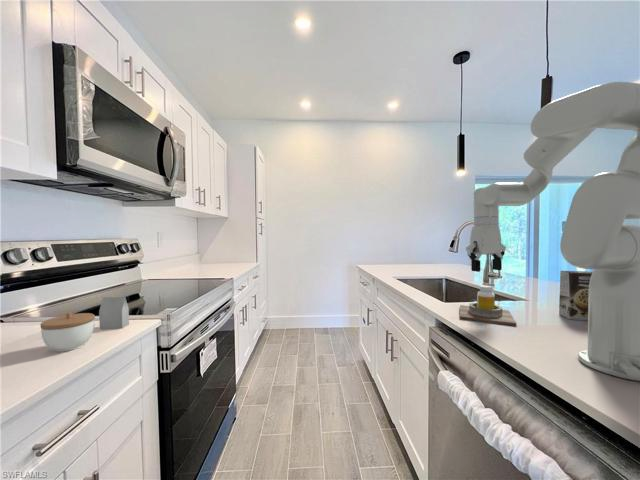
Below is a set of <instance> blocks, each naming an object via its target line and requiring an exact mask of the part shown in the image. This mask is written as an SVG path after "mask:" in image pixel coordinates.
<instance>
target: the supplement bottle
mask: <svg viewBox="0 0 640 480" xmlns="http://www.w3.org/2000/svg"><path fill="white" fill-rule="evenodd" d="M493 288H494V287H493V286H491V285H481V284H480V285H479V291H478V292H477V294H476V303H477V308H482V309H495V305H496V304H495V301H496V300H495V297H496V294H495V293H494V292H493V291H494V290H493Z"/></svg>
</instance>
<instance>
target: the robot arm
mask: <svg viewBox="0 0 640 480" xmlns="http://www.w3.org/2000/svg"><path fill="white" fill-rule="evenodd" d="M596 129H607V130H608V129H609V130H625V131H633V132H636V134H635V135H634V136H633V137H632V138H631V139H630V141H629V142H628V143H627V145H626V146H625V148H624V150H623V151H622V153H621V156H620V160H619V164H618V166H617V169H616V171H606V172H601V173H598V174H594V175H593V176H591V177H589V178H587V179H586V180H585V181H584V182H582V184H580V186H579V187H578V188H577V190H576V191H575V193H574V194H573V197H572V199H571V203H570V206H569V210H568V214H567V215H566V220H565V223H564V227H563V230H562V234H561V237H560V243H559V244H560V247H559V248H560V253H561V255H562V257H563V259H564V260H565V261H566V262H567V263H568V264H569V265H571V266H573V267H575V268H579V269H583V270H584V269H586V270H592V272H593V273H592V275H591V278H590V282H589V300H588V320H587V349H584V350H580V351H579V352H578V353H577V355H578V356H577V358H578V360H579V361H580V362H581V363H582V364H583V365H586V366H588V367H589V368H592V369H594V370H596V371H598V372H602V373H604V374H607V375H610V376H612V377H613V376H614V377H617V378H622V379H625V380H629V381H638V382H640V225H639V226H638V225H634V224H627V223H626V224H625V223H624V222H625V220H639V219H640V83H639V82H628V81H611V82H610V81H609V82H605V83H601V84H598V85H594V86H592V87H589V88H586V89H584V90H581V91H578V92H574V93H571V94H569V95H567V96H564V97H561V98H558V99H556V100H553V101H551V102H549V103H547V104H546V105H544V106H543V107H541V108H540V109H539V110H538V111H537V112H536V113H535V115H534V116H533V117H532V120H531V123H530V131H531V134H532V135H533V136H534V137H536V138H535V140H534V141H533V142H532V143H531V144H530V145H529V146H528V147H527V148H526V150H525V151H524V153H523V159H524V161H525V163H526V164H528V166H529V167H531V168H532V170H531V171H530V173H529V174H528V175H527V176H526V177H525V178H524V179H523V180H521V182H493V183H491V184H489V185H487V186H485V187H478V188H477V189H474V191H473V226H472V228H471V230H470V231H471V232H470V240H469V245H467V246H466V247H465V251H466V252H467V256H468V257H469V260H471V262H470V263H471V265H470V267H471V272H481V260H480V258H481V256H482V255H491V256H492V260H491V262H492V263H491V266H492V267H491V269H492V270H493V271H502V269H503V268H502V266H503V265H502V260H503V259H504V255H505V252H506V250H507V246H505V245H504V244H502V236H501V234H502V233H501V229H500V216H499V211H500V210H499V207H509V206H510V207H511V206H512V207H520V206H525V205H526V204H529V203H530V202H532V201H533V200H534V199H535V198H537V197H538V196H539V195H540V194H542V192H544V191H545V190H546V189H547V187H548V185H549V184H550V182H551V179H552V177H553V170H554V168H555V167H556V166H557V165H559V164H560V162H561V161H563V160H564V158H566V157H567V156H568V155H569V154H570V153H571V152H573V151H574V149H576V148H577V147H578V146H579V145H580V144H581V143H582V142H583V141H585V139H587V138H588V137H589V136H590V135H591V134H592V133H593V132H594V131H595V130H596Z"/></svg>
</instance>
